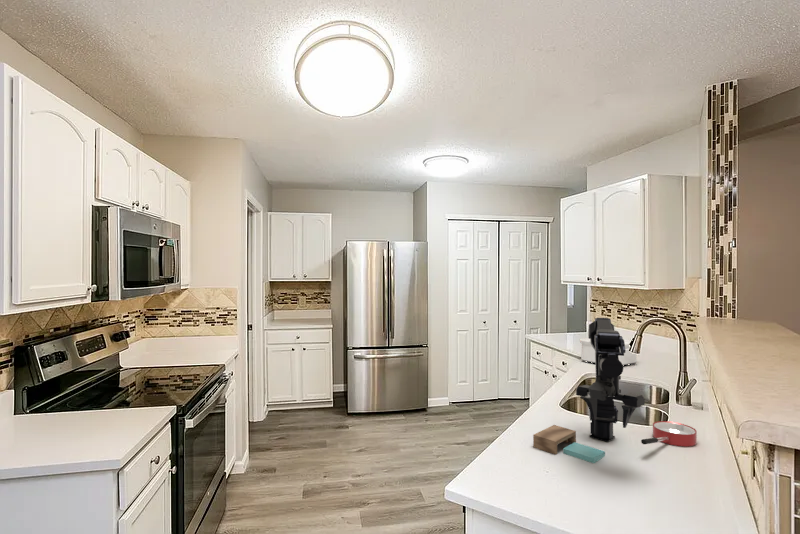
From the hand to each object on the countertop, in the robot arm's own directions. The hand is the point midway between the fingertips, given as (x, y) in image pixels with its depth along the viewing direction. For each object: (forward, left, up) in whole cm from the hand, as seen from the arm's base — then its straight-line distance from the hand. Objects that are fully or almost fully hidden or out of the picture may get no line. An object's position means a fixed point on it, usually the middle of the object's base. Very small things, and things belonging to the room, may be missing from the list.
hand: (609, 423), depth 132 cm
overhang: (+18, -1, -12) cm, 22 cm away
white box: (+61, -152, -13) cm, 165 cm away
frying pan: (-8, -28, -13) cm, 31 cm away
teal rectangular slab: (+8, -1, -13) cm, 15 cm away
